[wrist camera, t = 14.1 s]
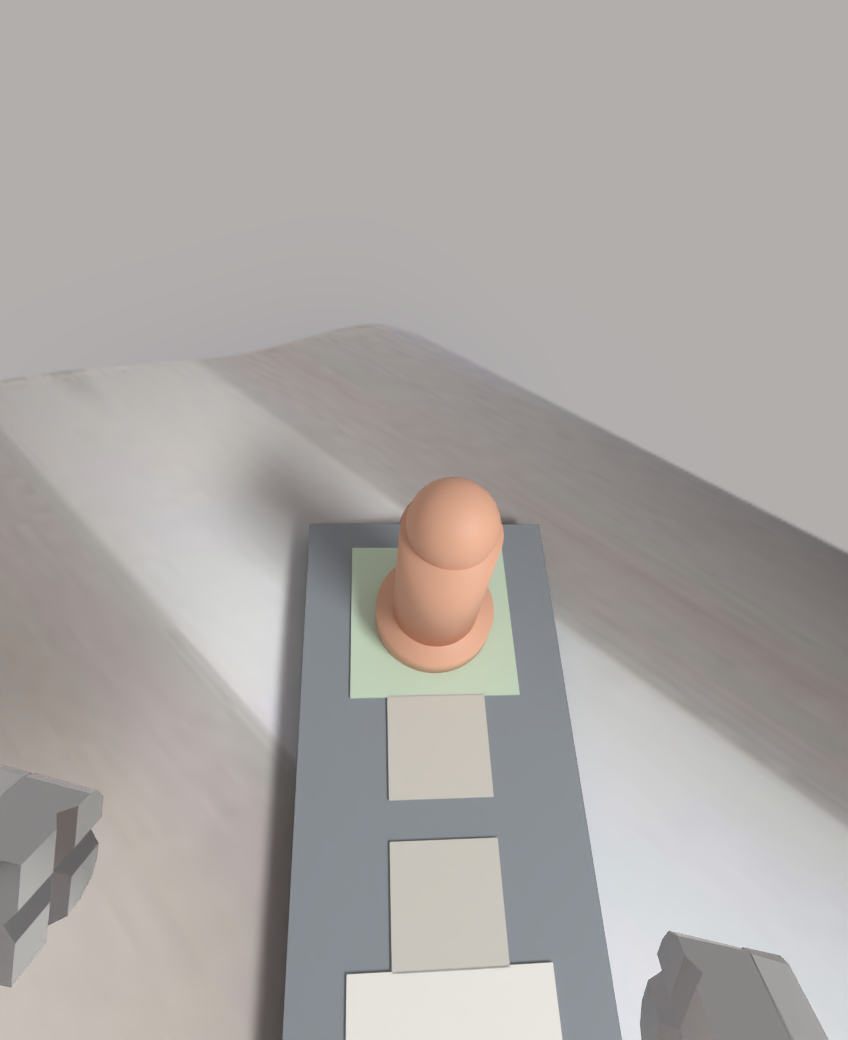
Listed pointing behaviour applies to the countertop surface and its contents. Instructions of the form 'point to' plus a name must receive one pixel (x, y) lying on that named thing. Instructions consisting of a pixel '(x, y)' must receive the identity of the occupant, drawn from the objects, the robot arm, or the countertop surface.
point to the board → (439, 822)
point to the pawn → (441, 577)
